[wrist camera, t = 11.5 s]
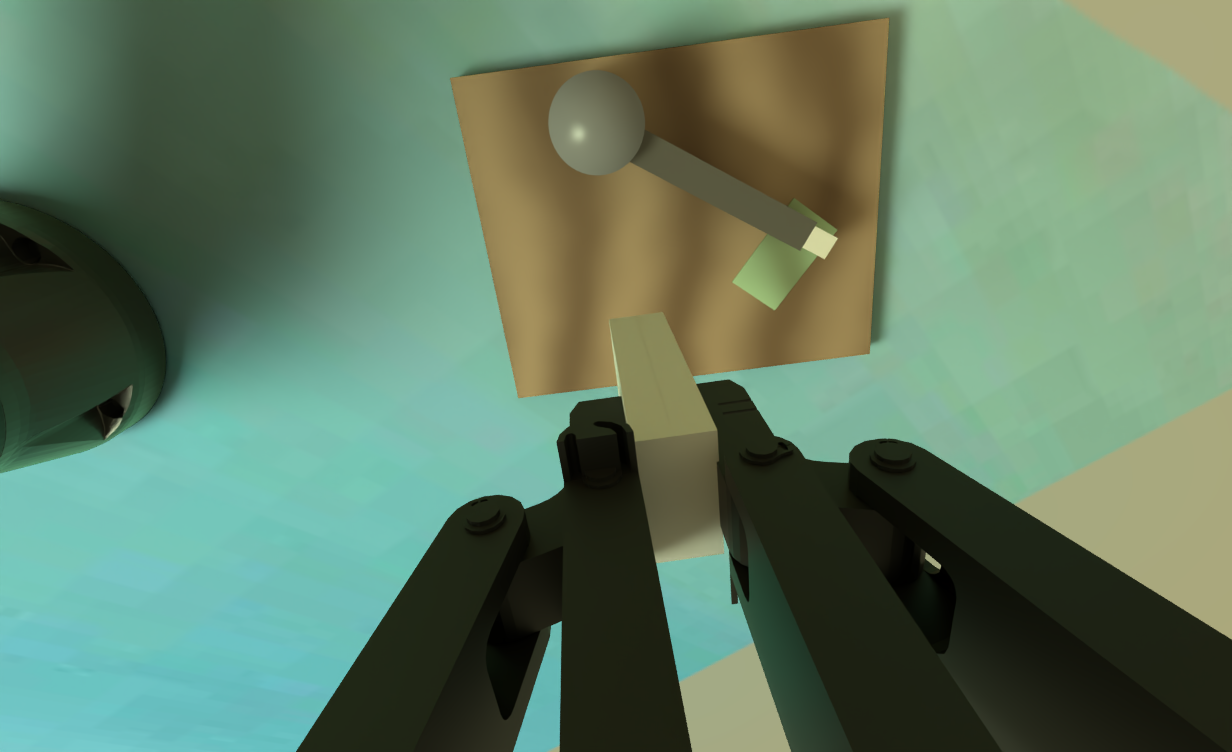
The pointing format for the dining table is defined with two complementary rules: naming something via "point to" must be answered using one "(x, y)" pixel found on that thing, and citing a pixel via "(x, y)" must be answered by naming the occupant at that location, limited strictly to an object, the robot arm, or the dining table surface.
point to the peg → (660, 157)
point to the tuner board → (686, 206)
